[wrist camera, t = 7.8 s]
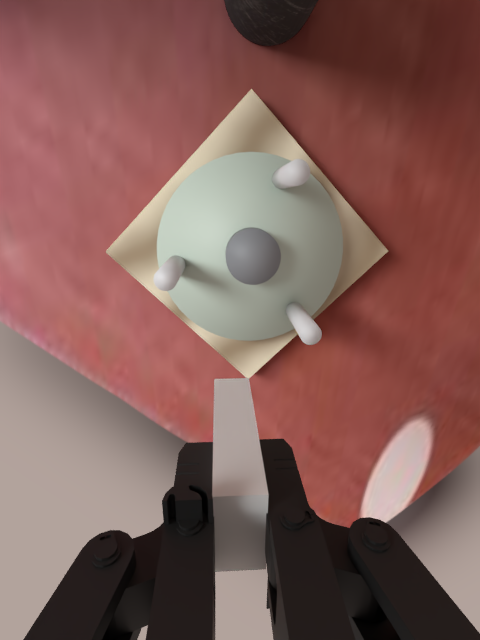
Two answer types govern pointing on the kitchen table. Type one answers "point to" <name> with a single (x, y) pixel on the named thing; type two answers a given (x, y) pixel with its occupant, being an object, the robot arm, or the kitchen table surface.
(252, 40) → the travel mug
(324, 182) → the stand base
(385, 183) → the kitchen table surface
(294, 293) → the green peg holder
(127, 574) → the robot arm
